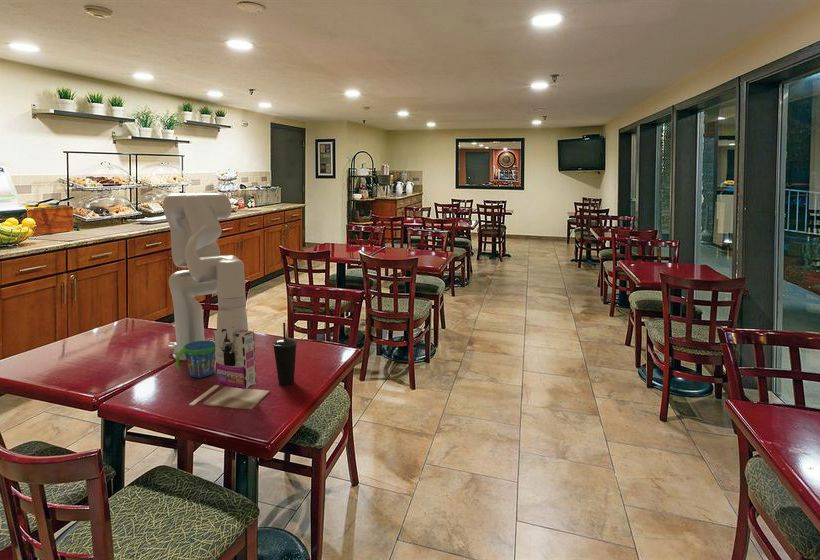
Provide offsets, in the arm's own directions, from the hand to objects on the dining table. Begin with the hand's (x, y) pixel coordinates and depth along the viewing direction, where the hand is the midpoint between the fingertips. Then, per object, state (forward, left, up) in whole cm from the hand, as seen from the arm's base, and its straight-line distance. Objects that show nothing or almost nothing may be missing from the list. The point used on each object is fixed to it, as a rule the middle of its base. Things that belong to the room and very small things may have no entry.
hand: (235, 361), depth 148 cm
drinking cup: (+9, +14, -12) cm, 21 cm away
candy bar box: (0, 0, -7) cm, 7 cm away
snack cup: (-21, +15, -12) cm, 28 cm away
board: (0, 0, -12) cm, 12 cm away
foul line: (-11, 0, -12) cm, 16 cm away
